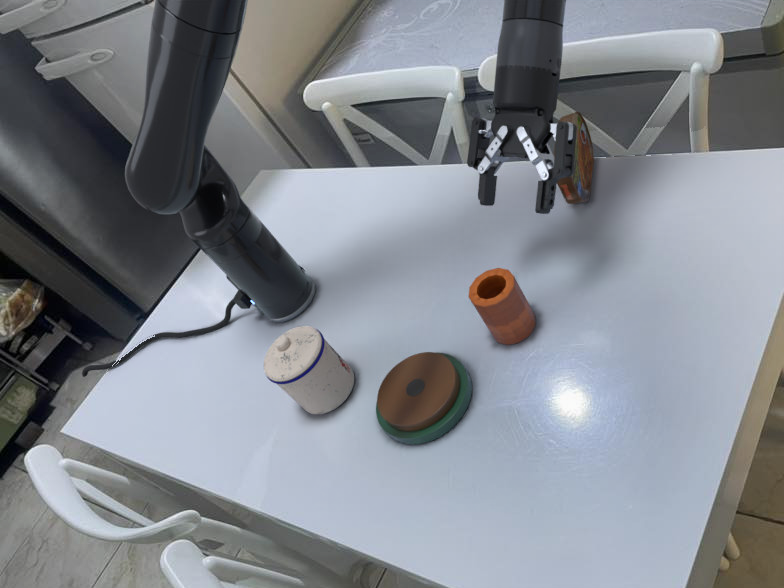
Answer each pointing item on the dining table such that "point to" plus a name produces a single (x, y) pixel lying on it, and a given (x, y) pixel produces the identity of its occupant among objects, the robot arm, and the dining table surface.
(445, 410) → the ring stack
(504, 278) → the orange hollow cylinder
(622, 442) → the dining table surface
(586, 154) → the tin
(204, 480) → the dining table surface
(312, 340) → the teacup with lid
